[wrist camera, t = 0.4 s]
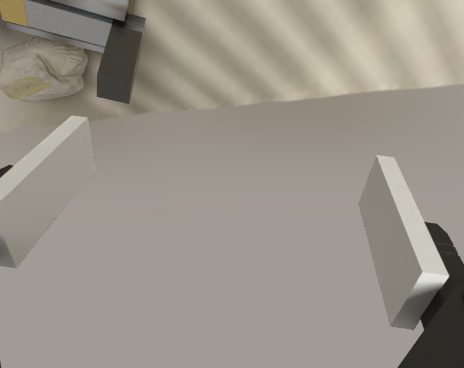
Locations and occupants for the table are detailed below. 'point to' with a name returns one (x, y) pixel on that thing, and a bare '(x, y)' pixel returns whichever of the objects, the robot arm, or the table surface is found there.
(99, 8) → the guide sleeve
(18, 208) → the robot arm
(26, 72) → the white rock
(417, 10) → the table surface
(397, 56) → the table surface
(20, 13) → the gray angle bracket
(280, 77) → the table surface
